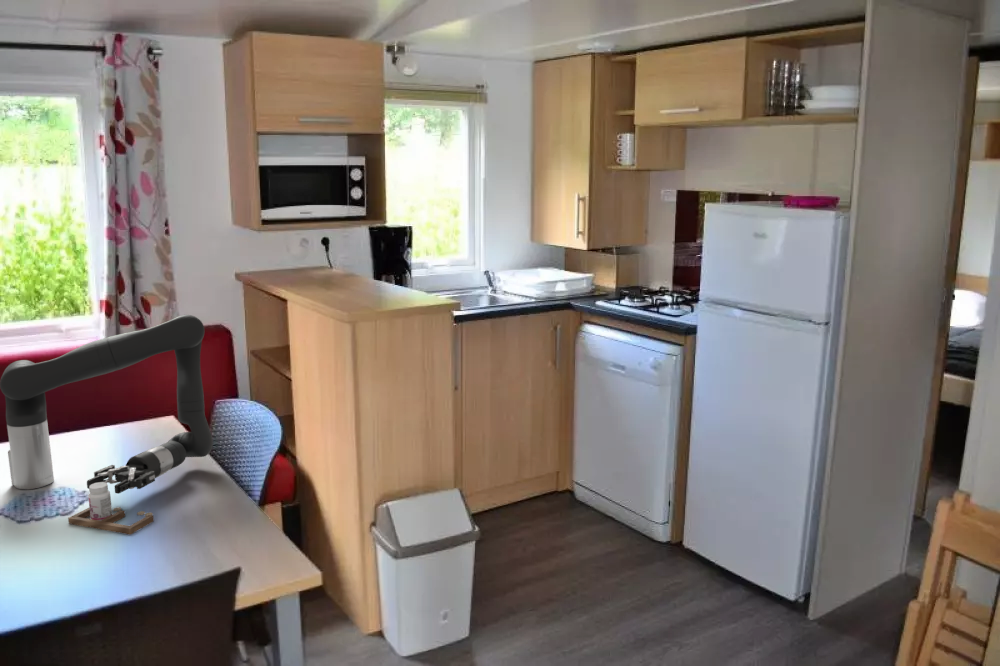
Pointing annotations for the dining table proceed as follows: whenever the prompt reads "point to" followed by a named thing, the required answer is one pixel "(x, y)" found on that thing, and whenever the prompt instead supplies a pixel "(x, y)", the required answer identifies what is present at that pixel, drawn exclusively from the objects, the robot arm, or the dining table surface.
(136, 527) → the slot rack
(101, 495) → the pill bottle
